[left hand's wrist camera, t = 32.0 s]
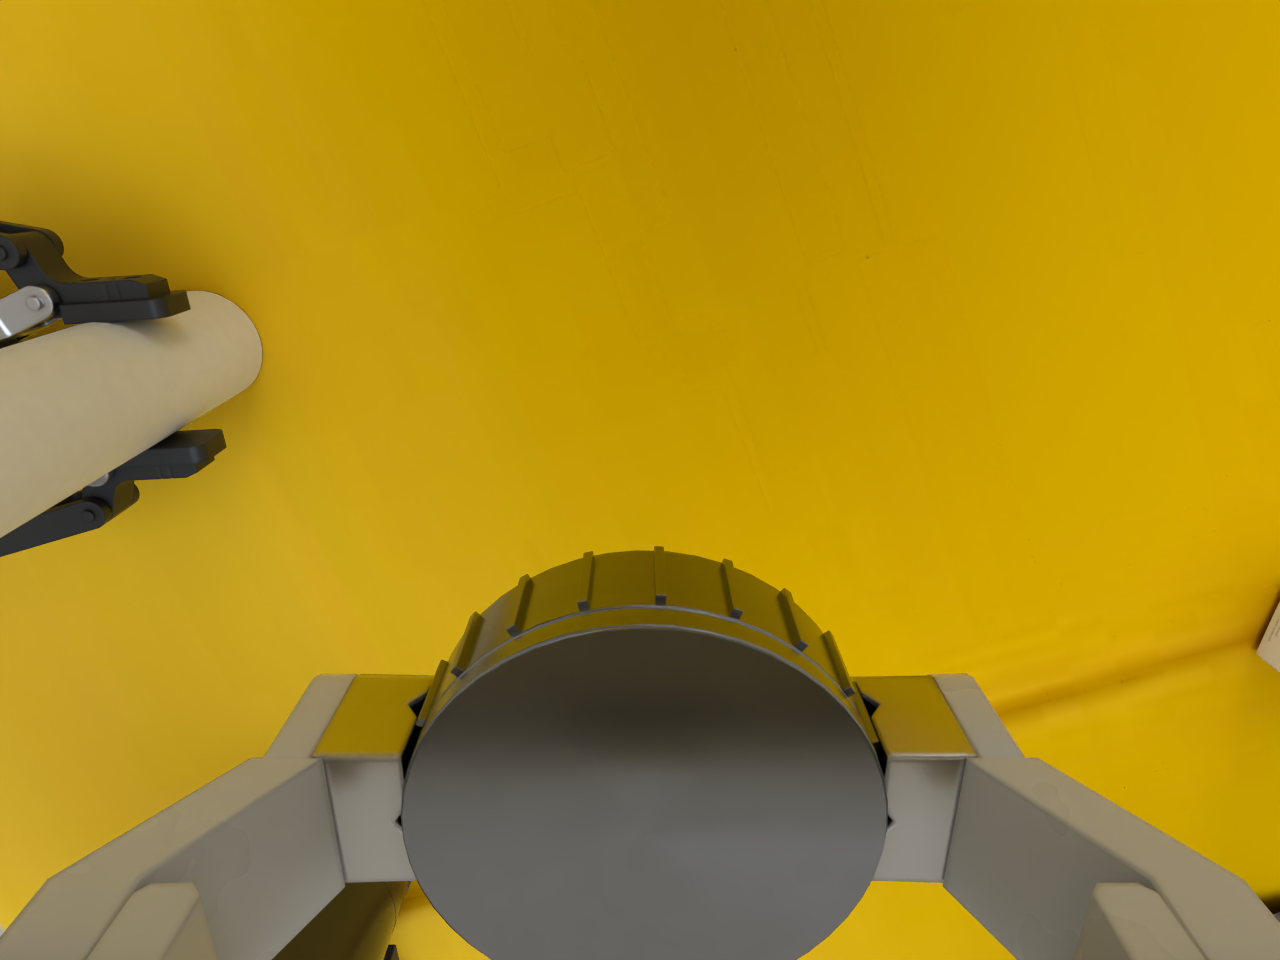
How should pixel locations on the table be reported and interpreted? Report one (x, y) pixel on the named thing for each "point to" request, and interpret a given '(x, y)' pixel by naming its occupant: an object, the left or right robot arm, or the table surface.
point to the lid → (644, 770)
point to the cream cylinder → (112, 396)
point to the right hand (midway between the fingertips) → (195, 376)
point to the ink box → (1271, 642)
